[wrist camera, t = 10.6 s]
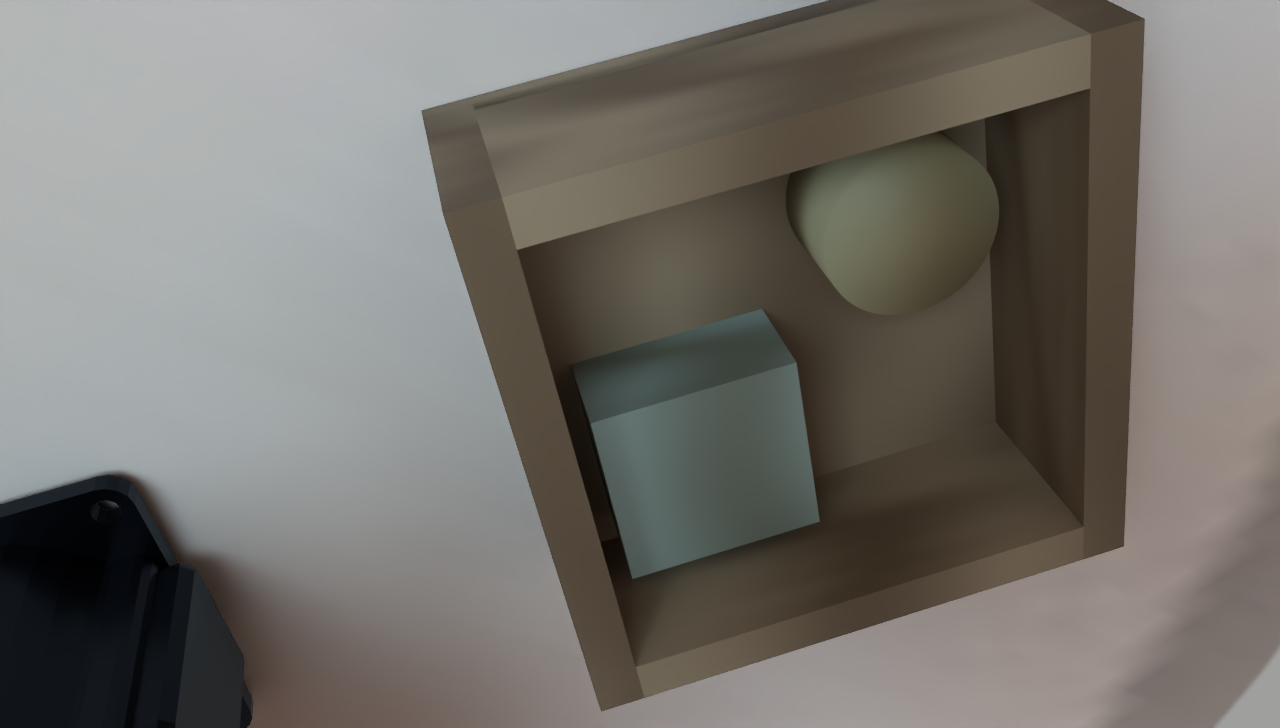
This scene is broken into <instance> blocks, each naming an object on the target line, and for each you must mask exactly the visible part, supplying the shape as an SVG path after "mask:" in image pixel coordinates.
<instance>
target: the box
mask: <svg viewBox="0 0 1280 728" xmlns="http://www.w3.org/2000/svg"><path fill="white" fill-rule="evenodd" d="M1144 22H1145V19H1144V18H1142V17H1140V16H1138V15H1136V14H1134V13H1131V12H1129V11H1127V10H1125V9H1123V8H1121V7H1119V6H1117V5H1115V4H1113V3H1111V2H1109V1H1107V0H829V1H825V2H822V3H818V4H814V5H811V6H807V7H803V8H800V9H796V10H792V11H788V12H785V13H781V14H777V15H774V16H770V17H766V18H763V19H759V20H755V21H752V22H748V23H744V24H740V25H737V26H733V27H729V28H726V29H722V30H718V31H715V32H711V33H707V34H703V35H700V36H696V37H692V38H689V39H685V40H681V41H678V42H674V43H670V44H666V45H663V46H659V47H655V48H652V49H648V50H644V51H641V52H637V53H633V54H630V55H626V56H622V57H618V58H615V59H611V60H607V61H604V62H600V63H596V64H593V65H589V66H585V67H581V68H578V69H574V70H570V71H567V72H563V73H559V74H556V75H552V76H548V77H544V78H541V79H537V80H533V81H530V82H526V83H522V84H519V85H515V86H511V87H507V88H504V89H500V90H496V91H493V92H489V93H485V94H482V95H478V96H474V97H471V98H467V99H463V100H459V101H456V102H452V103H448V104H445V105H441V106H437V107H434V108H430V109H426V110H422V116H423V120H424V125H425V130H426V135H427V139H428V144H429V149H430V154H431V158H432V163H433V168H434V173H435V177H436V182H437V187H438V192H439V196H440V201H441V206H442V211H443V215H444V218H445V221H446V224H447V227H448V231H449V234H450V237H451V240H452V243H453V246H454V250H455V253H456V256H457V259H458V262H459V265H460V268H461V272H462V275H463V278H464V281H465V284H466V287H467V290H468V294H469V297H470V300H471V303H472V306H473V309H474V312H475V316H476V319H477V322H478V325H479V328H480V331H481V334H482V338H483V341H484V344H485V347H486V350H487V353H488V356H489V360H490V363H491V366H492V369H493V372H494V375H495V379H496V382H497V385H498V388H499V391H500V394H501V397H502V401H503V404H504V407H505V410H506V413H507V416H508V419H509V423H510V426H511V429H512V432H513V435H514V438H515V441H516V445H517V448H518V451H519V454H520V457H521V460H522V463H523V467H524V470H525V473H526V476H527V479H528V482H529V486H530V489H531V492H532V495H533V498H534V501H535V504H536V508H537V511H538V514H539V517H540V520H541V523H542V526H543V530H544V533H545V536H546V539H547V542H548V545H549V548H550V552H551V555H552V558H553V561H554V564H555V567H556V570H557V574H558V577H559V580H560V583H561V586H562V589H563V593H564V596H565V599H566V602H567V605H568V608H569V611H570V615H571V618H572V621H573V624H574V627H575V630H576V633H577V637H578V640H579V643H580V646H581V649H582V652H583V655H584V659H585V662H586V665H587V668H588V671H589V674H590V677H591V681H592V684H593V687H594V690H595V693H596V696H597V700H598V703H599V706H600V709H601V711H604V710H607V709H610V708H614V707H617V706H620V705H623V704H626V703H629V702H633V701H636V700H639V699H642V698H645V697H648V696H652V695H655V694H658V693H661V692H664V691H667V690H671V689H674V688H677V687H680V686H683V685H686V684H690V683H693V682H696V681H699V680H702V679H705V678H709V677H712V676H715V675H718V674H721V673H724V672H728V671H731V670H734V669H737V668H740V667H743V666H747V665H750V664H753V663H756V662H759V661H762V660H766V659H769V658H772V657H775V656H778V655H781V654H785V653H788V652H791V651H794V650H797V649H800V648H804V647H807V646H810V645H813V644H816V643H819V642H823V641H826V640H829V639H832V638H835V637H838V636H842V635H845V634H848V633H851V632H854V631H857V630H861V629H864V628H867V627H870V626H873V625H876V624H880V623H883V622H886V621H889V620H892V619H895V618H899V617H902V616H905V615H908V614H911V613H914V612H918V611H921V610H924V609H927V608H930V607H933V606H937V605H940V604H943V603H946V602H949V601H952V600H956V599H959V598H962V597H965V596H968V595H971V594H975V593H978V592H981V591H984V590H987V589H990V588H994V587H997V586H1000V585H1003V584H1006V583H1009V582H1013V581H1016V580H1019V579H1022V578H1025V577H1028V576H1032V575H1035V574H1038V573H1041V572H1044V571H1047V570H1051V569H1054V568H1057V567H1060V566H1063V565H1066V564H1070V563H1073V562H1076V561H1079V560H1082V559H1085V558H1089V557H1092V556H1095V555H1098V554H1101V553H1104V552H1108V551H1111V550H1114V549H1117V548H1120V547H1123V546H1124V525H1125V500H1126V475H1127V450H1128V425H1129V400H1130V374H1131V349H1132V324H1133V299H1134V274H1135V249H1136V223H1137V198H1138V173H1139V148H1140V123H1141V98H1142V73H1143V47H1144Z"/></svg>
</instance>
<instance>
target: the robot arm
mask: <svg viewBox="0 0 1280 728" xmlns="http://www.w3.org/2000/svg"><path fill="white" fill-rule="evenodd" d="M106 500H108V501H111V502H115V503H116V504H117V505H118V506H119V508H117V509H114V510H106V509H103V508H100V507H99V506H98V505H97V504H96V503H97V502H99V501H106ZM243 674H244V656H243V654H242V652H241V650H240V649H239V647H238V645H237V643H236V641H235V639H234V638H233V636H232V634H231V632H230V630H229V628H228V627H227V625H226V623H225V621H224V619H223V617H222V616H221V614H220V612H219V610H218V608H217V606H216V605H215V603H214V601H213V599H212V597H211V595H210V594H209V592H208V590H207V588H206V586H205V584H204V583H203V581H202V579H201V577H200V575H199V573H198V572H197V570H195V569H194V568H192V567H190V566H188V565H187V564H185V563H178V562H177V561H176V559H175V557H174V555H173V553H172V552H171V550H170V548H169V546H168V544H167V543H166V541H165V539H164V537H163V535H162V534H161V532H160V530H159V528H158V526H157V525H156V523H155V521H154V519H153V517H152V516H151V514H150V512H149V510H148V508H147V507H146V505H145V503H144V501H143V499H142V497H141V496H140V494H139V492H138V490H137V489H136V488H135V487H134V486H133V485H132V483H131V482H129V481H127V480H125V479H123V478H121V477H116V476H110V475H107V476H99V477H94V478H91V479H88V480H84V481H81V482H77V483H74V484H70V485H67V486H63V487H60V488H56V489H53V490H50V491H46V492H43V493H39V494H36V495H32V496H29V497H25V498H22V499H18V500H15V501H12V502H8V503H5V504H1V505H0V728H247V727H248V726H249V725H250V723H251V720H252V713H253V700H252V696H251V694H250V692H249V691H248V689H247V687H246V685H245V683H244V682H243Z"/></svg>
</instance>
